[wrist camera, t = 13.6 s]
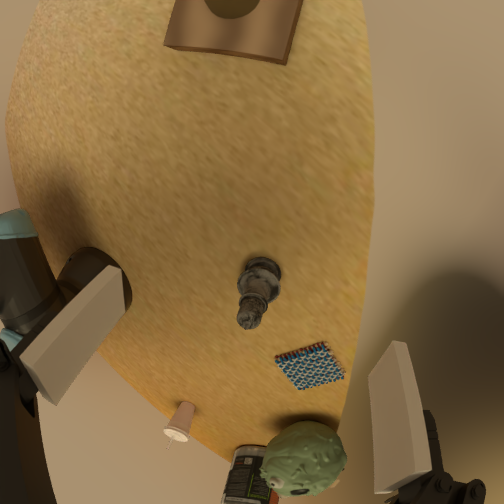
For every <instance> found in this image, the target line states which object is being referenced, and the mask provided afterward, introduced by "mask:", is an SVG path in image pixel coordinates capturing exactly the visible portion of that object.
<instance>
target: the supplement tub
mask: <svg viewBox="0 0 504 504" xmlns="http://www.w3.org/2000/svg"><path fill="white" fill-rule="evenodd" d="M265 452H266V447H259V446H243V447H240V448H238V449H237V450H236V451H235V452H234V456H233V459H232V463H231V467H230V471H229V475H228V478H227V482H226V485H225V489H224V493H223V497H222V500H221V504H278V501H279V496H278V495H277V493H276V492H275V491H274V490H273V488H269V487H270V486H268V485H267V484H266V482H267V481H266V480H265V478H261V476H260V473H261V470H260V469H259V468H261V466H262V464H263V458H264V455H265Z"/></svg>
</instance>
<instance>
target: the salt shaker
mask: <svg viewBox="0 0 504 504" xmlns="http://www.w3.org/2000/svg"><path fill="white" fill-rule="evenodd" d="M280 278H281V271H280V268H279V266H278V265H277V264H276V263H275V262H274V261H272V260H270V259H268V258H264V257H259V258H255V259H252V260H251V261H250V262H248V264H247V265H246V267H245V271H244V272H243V273H242V274H241V275H240V277H239V278H238V282H237V287H238V290H239V293H240V294H241V295H242V296H241V298H240V300H239V306H240V309H239V311H238V314H237V322H238V324H239V325H240V326H241V327H243V328H244V329H245V330H247V329H254V328H256V327H258V326H259V324H260V322H261V319H262V315H263V313H265V312H266V310H267V308H268V303H271V302H273V301H274V300H276V298H277V297H278V296H279V293H280V283H279V281H280Z"/></svg>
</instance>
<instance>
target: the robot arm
mask: <svg viewBox="0 0 504 504" xmlns="http://www.w3.org/2000/svg"><path fill="white" fill-rule="evenodd" d="M38 236H39V235H38V232H36V230H35V228H34V225H33V223H32V220H31V218H30V215H29V214H28V212H27V211H26V210H24V209H15V210H11V211H8V212H5V213H3V214H0V319H1V321H2V322H3V324H4V326H5V328H3V329H2V331H1V333H0V504H57V502H56V499H55V495H54V492H53V488H52V485H51V480H50V476H49V472H48V468H47V464H46V459H45V454H44V448H43V442H42V436H41V430H40V422H39V413H38V403H37V397H36V393H37V392H38V390H39V391H40V393H41V394H42V396H43V397H44V398H45V399H46V400H48V401H49V402H51V403H52V404H54V405H56V406H57V404H58V403H59V401H60V400H61V398H62V397H63V395H64V394H65V392H66V391H67V390H68V388H69V387H70V385H71V384H72V382H73V381H74V380H75V378H76V377H77V375H78V374H79V373H80V371H81V370H82V368H83V367H84V366H85V364H86V363H87V362H88V360H89V359H90V358H91V356H92V355H93V353H94V352H95V351H96V350H97V348H98V347H99V346H100V344H101V343H102V342H103V340H104V339H105V338H106V336H107V335H108V334H109V332H110V331H111V330H112V328H113V327H114V326H115V325H116V323H117V322H118V321H119V320H120V318H121V317H122V316H123V315H124V313H125V312H126V311H127V310H128V308H129V307H130V305H131V301H132V293H131V288H130V285H129V282H128V280H127V278H126V276H125V274H124V273H123V271H122V270H121V268H120V267H119V266H118V265H117V263H116V262H115V261H114V260H113V259H112V258H110V257H109V256H108V255H107V254H105V253H104V252H102V251H100V250H98V249H95V248H91V247H84V248H81V249H79V250H78V251H76V252H75V253H74V254H72V255H71V256H70V257H69V259H68V260H67V262H66V265H65V266H64V267H63V269H62V271H61V273H60V274H59V276H58V278H57V280H56V279H55V277H54V275H53V273H52V270H51V268H50V266H49V263H48V261H47V259H46V256H45V254H44V251H43V249H42V246H41V244H40V241H39V238H38ZM368 383H369V392H370V402H371V414H372V428H373V446H374V476H375V477H374V480H375V481H374V482H375V483H374V485H375V487H374V490H375V491H374V494H380V493H391V492H393V491H395V490H397V489H398V491H399V494H397V495H395V496H393V497H391V498H389V499H387V500H386V501H385V503H388V502H390V501H391V502H390V504H484V500H485V495H486V489H485V485H484V483H483V482H482V481H481V480H479V479H474V480H472V481H471V482H469V483H467V484H466V483H461V482H456V481H453V478H452V477H451V475H450V474H449V473H447V472H444V469H443V464H442V457H441V451H440V445H439V440H438V434H437V432H436V430H437V428H436V423H435V419H434V417H433V416H432V414H431V412H430V410H422V405H421V400H420V396H419V391H418V387H417V384H416V379H415V375H414V371H413V367H412V363H411V359H410V356H409V352H408V349H407V345H406V343H404V342H399V341H392V342H391V344H390V346H389V347H388V348H387V350H386V352H385V353H384V354H383V356H382V357H381V359H380V360H379V362H378V363H377V364H376V366H375V367H374V369H373V370H372V372H371V373H370V374H369V376H368Z"/></svg>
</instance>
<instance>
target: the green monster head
mask: <svg viewBox="0 0 504 504" xmlns="http://www.w3.org/2000/svg"><path fill="white" fill-rule="evenodd" d="M346 462H347V455H346V453H345V451H344V448H343V445H342V442H341V440H340V437H339V436H338V435H337V433H336V432H335V431H334V430H333V429H331V428H330V427H328V426H326V425H324V424H322V423H318V422H315V421H300V422H297V423H294V424H292V425H290V426H288V427H286V428H285V429H284V430H283V431H281V432H280V434H278V435H277V436H275V437H274V438H273V439H272V440H271V441H270V442H269V443H268V445H267V448H266V452H265V455H264V458H263V464H262V466H261V468H259V469H260V470H261V473H260V476H261V478H265V480H266V481H267V482H266V484H267V485H268V486H270V487H269V488H273V490H274V491H275V492H276V493H277V495H278V496H279V497H280V498H285V499H286V498H288V497H290V496H301V495H307V496H308V495H311V494H313V496H316V495H317V494H318V493H320V492H323V491H324V490H325V489H327V488H328V487H329V486H330V485H331V484H332V483H333V482H334V481H335V480H336V478H337V477H338V475H339V474H340V472H341V471H342V469H343V468H344V466H345V464H346Z"/></svg>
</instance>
